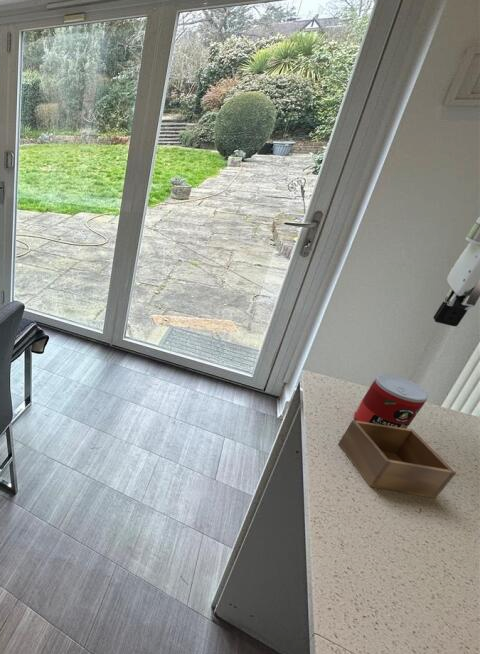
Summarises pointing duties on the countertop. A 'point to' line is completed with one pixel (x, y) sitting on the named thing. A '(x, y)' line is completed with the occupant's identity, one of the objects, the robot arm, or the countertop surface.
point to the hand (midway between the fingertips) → (444, 322)
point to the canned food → (391, 402)
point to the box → (395, 459)
